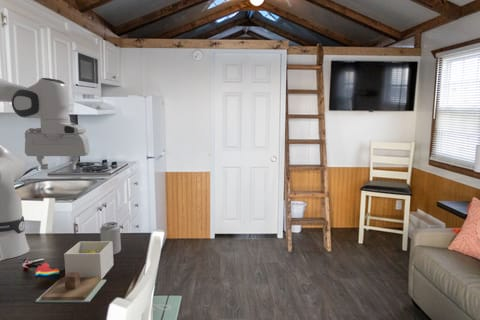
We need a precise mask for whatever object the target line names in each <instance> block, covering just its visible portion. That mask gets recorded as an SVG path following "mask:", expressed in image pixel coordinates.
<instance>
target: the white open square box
mask: <svg viewBox="0 0 480 320" xmlns="http://www.w3.org/2000/svg"><path fill="white" fill-rule="evenodd" d="M89 250H91V251H94V252H95V253H86V252H87V251H89ZM63 256H64V269H65V270H64V271H65V272H64V273H65V276H66V275H67V274H68V273H69V272H79V276H80V277H101V280H103V278H105V276H106V275H107V274H108V272H109V271H110V270H111V269H112V268H113V266H114V255H113V244H112V241H101V240H100V241H79V242H77V243H76V244H75V245H73V246H72V247H71V248H70V249H69V250H67V251H66V252H65V253H63Z"/></svg>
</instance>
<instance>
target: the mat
mask: <svg viewBox="0 0 480 320" xmlns="http://www.w3.org/2000/svg"><path fill="white" fill-rule="evenodd" d="M59 280H60V279H57V281H56V282H54V283H53V284H52V285H51V286H50V287H49V288H48V289H46V290H45V292H43V293H42V294H41V295H40V296H39V297H38V298H36V300H35V301H34V302H35V303H90V302H91V301H92V299H94V297H95V296H96V295H97V293H98V292H99V290H101V288H102V287H103V286H104V284H105V283H106V282H107V279H101V281H100V282H99V283H98V285H97V286H96V287H95V288H94V289H93V291H92V292H91V293H90V294H89V295H88V297H87V298H86V299H85V300H41V297H42V296H43V295H44V294H45V293H46V292H47V291H48V290H49V289H50V288H51V287H52V286H53V285H54V284H56V283H57V282H58V281H59Z"/></svg>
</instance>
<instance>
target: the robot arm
mask: <svg viewBox="0 0 480 320" xmlns="http://www.w3.org/2000/svg"><path fill="white" fill-rule="evenodd" d="M1 102H3V103H5V102H7V103H11V107H12V109H13V111H14V114H16V115H18V116H19V117H21V118H25V119H40V120H39V121H40V127H36V128H33V127H31V128H28V129H27V130H26V131H25V132H24V140H25V141H24V154H25V156H27V157H36V160H37V162H38V163H39V165H40V170H43V171H45V170H49V167H48V163H46V162H45V160H44V159H45V157H71V160H72V162H71V163H70V164H68V167H69V170H71V171H72V170H73V171H74V170H76V169H77V164H78V162H79V159H80V157H85V156H88V155H89V153H90V143H89V142H90V141H89V138H88V136H87V134H85V133H86V127H85V126H83V125H79V124H76V123H74V122H71V117H70V113H69V109H70V99H69V92H68V87H67V84H66V82H64V81H62V80H60V79H56V78H50V77H49V78H47V77H41V78H39V79H38V81H37V82H36V83H34V84H33V85H31V86H28V87H26V86H24V85H20V84H15V83H12V82H10V81H8V80H5V79H3V78H0V103H1ZM27 170H28V169H27V163H26V161H25V160H24V159H23V158H22V157H21V156H18V155H16V154H14V153H12V152H11V151H10V150H9V149H7V148H6V147H4V146H3V145H1V144H0V262H1V261H3V260H8V259H13V258H16V257H20V256H23V255H25V254H27V253H29V252H30V250H31V247H30V246H29V243H28V241H27V238H26V237H27V236H26V233H25V227H26V226H25V225H26V224H25V217H24V215H23V208H22V206H23V205H22V198H21V196H20V195H19V194H18V193H17V190H16V187H15V184H14V183H15V182H16V181H18V180H20V179H21V178H22V177H23V176H24V175H25V173H26V172H27Z"/></svg>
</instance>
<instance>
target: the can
mask: <svg viewBox="0 0 480 320" xmlns="http://www.w3.org/2000/svg"><path fill="white" fill-rule="evenodd" d="M99 232H100V233H99V235H100V241H112V244H113V256H115V255H117V254H119V253H120V252H121V250H122V243H121V226H120V225H119V223H118V222H115V221H109V222H105V223H102V224H101V227H100V228H99Z"/></svg>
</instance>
